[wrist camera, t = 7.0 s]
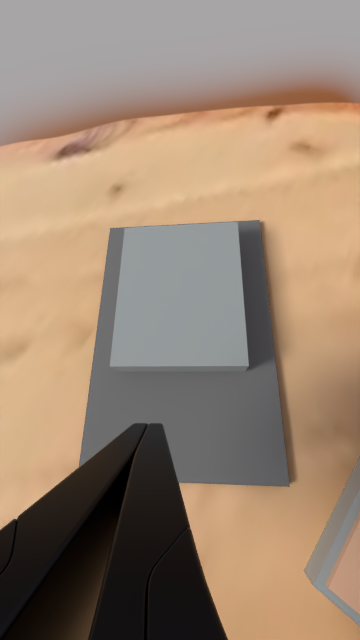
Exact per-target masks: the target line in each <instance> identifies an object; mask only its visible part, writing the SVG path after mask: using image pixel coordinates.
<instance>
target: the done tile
mask: <svg viewBox="0 0 360 640" xmlns="http://www.w3.org/2000/svg"><path fill="white" fill-rule="evenodd" d="M304 572H305V574H306V575H307V577H308V578H309V580H310V582H311V583H312V585H313V586H314V587H315V588H316V589H318V590H319V591H320V592H321V593H322V594H323V595H325V596H326V597H327V598H328V599H329V600H330V601H331V602H333V603H334V604H335V605H336V606H337V607H338V608H340V609H341V610H342V611H343V612H344V613H345V614H346V615H348V616H349V617H350V618H351V619H352V620H353V621H355V622H356V623H357V624H358V625H359V626H360V457H359V459H358V461H357V463H356V465H355V467H354V469H353V471H352V473H351V476H350V478H349V480H348V482H347V484H346V486H345V488H344V490H343V492H342V494H341V496H340V498H339V500H338V502H337V504H336V506H335V508H334V510H333V512H332V514H331V516H330V518H329V520H328V522H327V524H326V526H325V528H324V531H323V533H322V535H321V537H320V539H319V541H318V543H317V545H316V547H315V549H314V551H313V553H312V555H311V557H310V559H309V561H308V563H307V565H306V567H305V569H304Z"/></svg>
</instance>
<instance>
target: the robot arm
mask: <svg viewBox="0 0 360 640" xmlns="http://www.w3.org/2000/svg"><path fill="white" fill-rule="evenodd" d="M0 640H228V638H227V636H226V633H225V631H224V628H223V626H222V623H221V621H220V618H219V615H218V613H217V610H216V607H215V604H214V602H213V599H212V596H211V594H210V591H209V588H208V585H207V583H206V580H205V576H204V573H203V570H202V566H201V563H200V560H199V556H198V553H197V550H196V546H195V542H194V538H193V535H192V531H191V529H190V525H189V521H188V517H187V513H186V509H185V506H184V502H183V498H182V494H181V491H180V487H179V483H178V479H177V475H176V472H175V468H174V464H173V460H172V456H171V453H170V449H169V445H168V441H167V438H166V434H165V430H164V426H163V424H162V423H150V424H147V423H134V424H132V425H131V426H130V427H128V428H127V429H126V430H125V431H123V432H122V433H121V434H120V435H118V436H117V437H116V438H115V439H114V440H112V441H111V442H110V443H109V444H107V445H106V446H105V447H104V448H102V449H101V450H100V451H99V452H97V453H96V454H95V455H94V456H92V457H91V458H90V459H89V460H87V461H86V462H85V463H84V464H82V465H81V466H80V467H79V468H78V469H76V470H75V471H74V472H73V473H71V474H70V475H69V476H68V477H66V478H65V479H64V480H63V481H61V482H60V483H59V484H58V485H56V486H55V487H54V488H53V489H51V490H50V491H49V492H48V493H46V494H45V495H44V496H43V497H42V498H40V499H39V500H38V501H37V502H35V503H34V504H33V505H32V506H30V507H29V508H28V509H27V510H25V511H24V512H23V513H22V514H20V515H19V516H18V518H17V519H13V520H12V521H11V522H10V523H8V524H7V525H6V526H5V527H3V528H2V529H1V530H0Z"/></svg>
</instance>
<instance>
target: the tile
mask: <svg viewBox="0 0 360 640" xmlns="http://www.w3.org/2000/svg"><path fill="white" fill-rule="evenodd" d="M110 367H111V368H113V369H115V370H117V371H119V372H245V370H246V369H247V368H248V367H249V361H248V348H247V335H246V322H245V309H244V296H243V283H242V270H241V258H240V245H239V232H238V222H224V223H205V224H187V225H168V226H150V227H131V228H125V230H124V239H123V248H122V257H121V267H120V276H119V285H118V294H117V303H116V313H115V322H114V331H113V340H112V350H111V359H110Z"/></svg>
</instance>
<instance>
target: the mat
mask: <svg viewBox="0 0 360 640" xmlns="http://www.w3.org/2000/svg"><path fill="white" fill-rule="evenodd" d="M235 222H238V232H239V245H240V258H241V270H242V283H243V296H244V309H245V322H246V335H247V348H248V361H249V367H248V368H247V369H246V370H245V372H119V371H117V370H115V369H113V368H111V367H110V359H111V350H112V340H113V331H114V322H115V313H116V303H117V294H118V285H119V276H120V267H121V257H122V248H123V239H124V230H125V228H131V227H124V228H110V234H109V242H108V250H107V257H106V265H105V272H104V280H103V288H102V295H101V303H100V310H99V318H98V325H97V333H96V341H95V348H94V356H93V363H92V371H91V379H90V386H89V394H88V401H87V409H86V417H85V424H84V432H83V439H82V447H81V454H80V462H79V467H80V466H81V465H82V464H84V463H85V462H86V461H87V460H89V459H90V458H91V457H92V456H94V455H95V454H96V453H97V452H99V451H100V450H101V449H102V448H104V447H105V446H106V445H107V444H109V443H110V442H111V441H112V440H114V439H115V438H116V437H117V436H118V435H120V434H121V433H122V432H123V431H125V430H126V429H127V428H128V427H130V426H131V425H132V424H134V423H147V424H150V423H162V424H163V426H164V430H165V434H166V438H167V441H168V445H169V449H170V453H171V456H172V460H173V464H174V468H175V472H176V475H177V479H178V482H179V483H206V484H233V485H260V486H286V487H290V485H289V476H288V468H287V459H286V450H285V441H284V432H283V424H282V415H281V406H280V397H279V388H278V380H277V371H276V362H275V353H274V344H273V336H272V327H271V318H270V309H269V300H268V292H267V283H266V274H265V265H264V256H263V248H262V239H261V230H260V221H259V220H253V221H235ZM217 223H224V222H217ZM198 224H205V223H198ZM180 225H187V224H180ZM161 226H168V225H161ZM143 227H150V226H143Z"/></svg>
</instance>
